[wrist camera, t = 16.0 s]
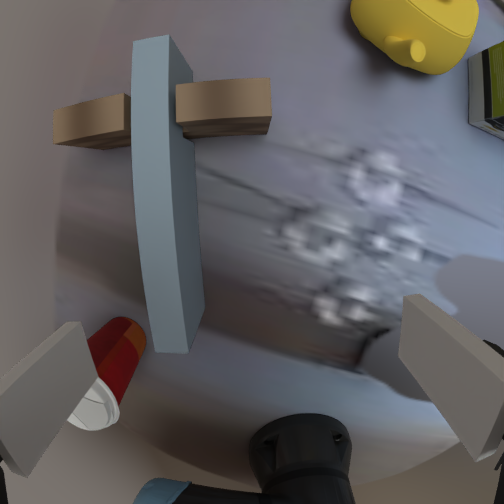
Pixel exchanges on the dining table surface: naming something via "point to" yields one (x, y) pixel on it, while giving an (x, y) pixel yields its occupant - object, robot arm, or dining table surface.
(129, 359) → the paper cup
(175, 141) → the slate board
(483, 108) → the tea box
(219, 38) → the dining table surface
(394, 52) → the teapot
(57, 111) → the notched walnut block
